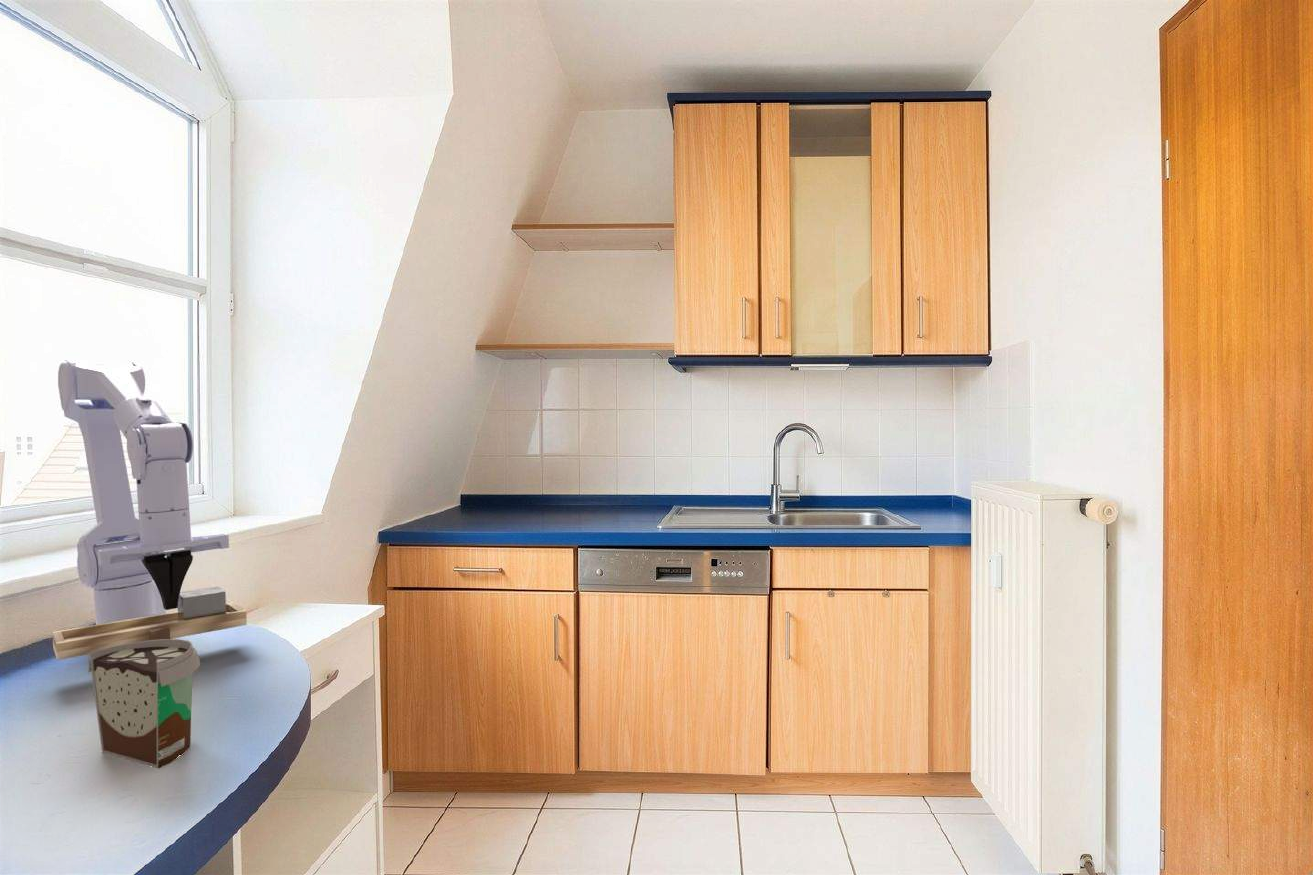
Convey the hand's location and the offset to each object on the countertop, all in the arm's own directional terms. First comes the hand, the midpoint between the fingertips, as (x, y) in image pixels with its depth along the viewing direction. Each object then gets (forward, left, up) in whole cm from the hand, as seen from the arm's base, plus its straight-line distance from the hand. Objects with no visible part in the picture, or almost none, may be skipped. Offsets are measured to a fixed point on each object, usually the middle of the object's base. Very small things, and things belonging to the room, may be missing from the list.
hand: (170, 607), depth 94 cm
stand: (+1, -2, -8) cm, 8 cm away
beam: (+1, -2, -3) cm, 4 cm away
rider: (-2, +3, -2) cm, 4 cm away
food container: (+29, +13, -8) cm, 32 cm away
